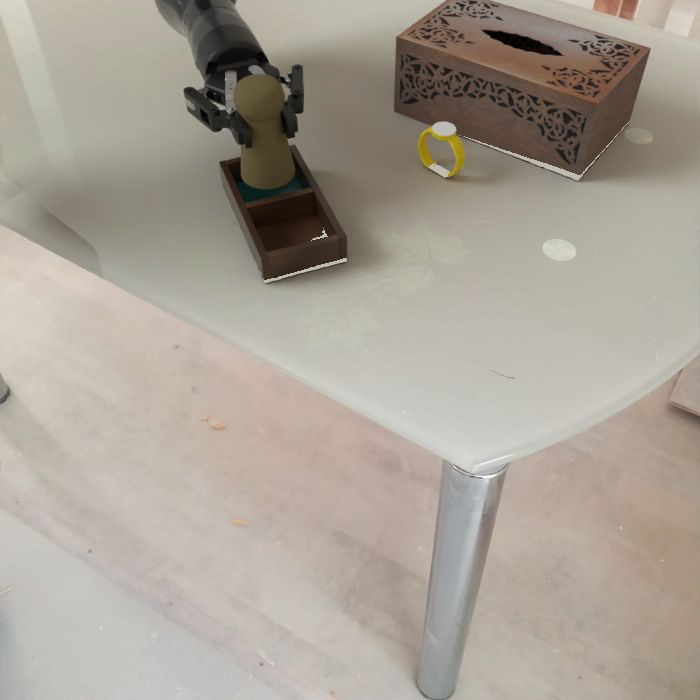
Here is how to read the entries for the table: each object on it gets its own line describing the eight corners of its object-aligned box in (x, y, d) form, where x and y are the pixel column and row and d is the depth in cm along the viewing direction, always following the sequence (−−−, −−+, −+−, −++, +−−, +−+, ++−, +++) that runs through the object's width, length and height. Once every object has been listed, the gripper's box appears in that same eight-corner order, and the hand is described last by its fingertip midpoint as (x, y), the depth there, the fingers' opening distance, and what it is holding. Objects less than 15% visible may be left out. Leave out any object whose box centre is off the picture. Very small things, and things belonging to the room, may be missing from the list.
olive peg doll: (283, 150, 88) (274, 60, 79) (303, 179, 84) (296, 89, 76) (233, 164, 86) (218, 74, 78) (251, 195, 83) (238, 104, 74)
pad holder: (264, 284, 79) (260, 259, 77) (223, 186, 90) (218, 161, 87) (347, 262, 81) (346, 236, 79) (297, 169, 92) (295, 144, 89)
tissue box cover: (628, 123, 97) (651, 48, 89) (578, 181, 89) (597, 104, 82) (452, 63, 107) (459, -9, 99) (394, 111, 100) (396, 36, 92)
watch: (412, 166, 92) (414, 122, 87) (427, 156, 93) (430, 112, 89) (451, 187, 89) (456, 143, 85) (466, 176, 90) (471, 132, 86)
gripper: (160, 35, 85) (195, 118, 74) (283, 11, 88) (334, 88, 77) (173, 96, 90) (208, 181, 80) (289, 72, 93) (337, 151, 83)
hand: (270, 135), depth 79 cm, fingers closed on olive peg doll, 4 cm apart
